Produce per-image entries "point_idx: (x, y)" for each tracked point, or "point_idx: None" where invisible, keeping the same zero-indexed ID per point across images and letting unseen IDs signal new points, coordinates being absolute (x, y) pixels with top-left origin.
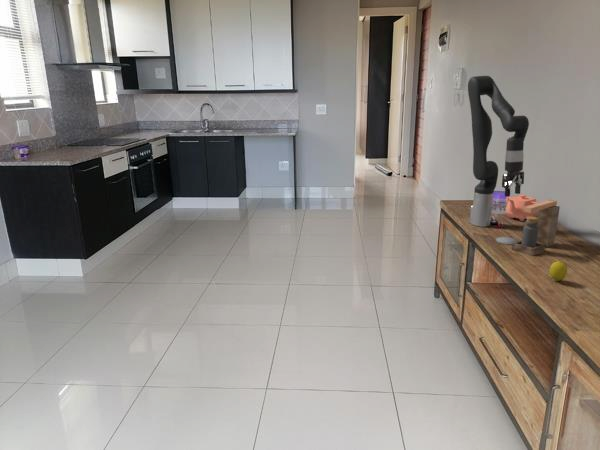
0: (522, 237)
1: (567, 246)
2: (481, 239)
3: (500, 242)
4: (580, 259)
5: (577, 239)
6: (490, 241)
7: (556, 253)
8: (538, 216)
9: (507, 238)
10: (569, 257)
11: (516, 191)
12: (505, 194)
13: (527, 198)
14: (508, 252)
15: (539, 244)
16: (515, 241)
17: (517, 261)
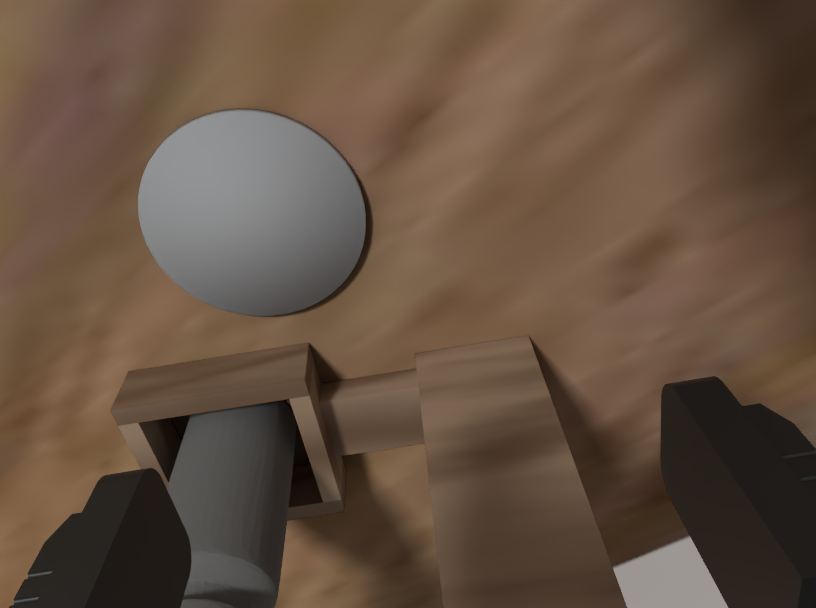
0: (170, 485)
1: (582, 468)
2: (14, 37)
3: (142, 228)
4: (413, 603)
5: (813, 409)
6: (79, 139)
7: (380, 517)
8: (441, 581)
9: (298, 179)
10: (387, 573)
11: (691, 456)
12: (59, 553)
13: None
14: (57, 401)
15: (319, 484)
16: (300, 273)
17: (6, 520)
